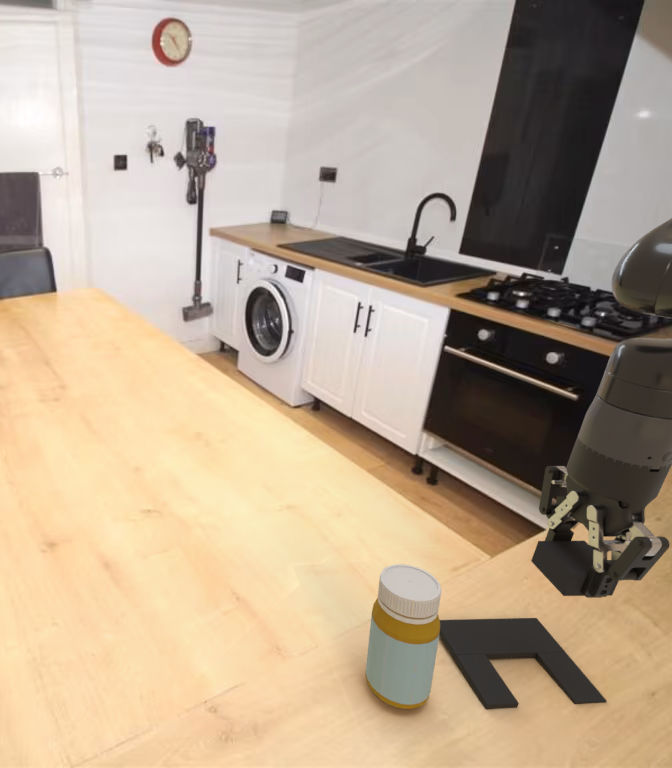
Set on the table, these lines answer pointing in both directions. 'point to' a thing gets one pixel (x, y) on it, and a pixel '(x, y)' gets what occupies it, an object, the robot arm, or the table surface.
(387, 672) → the bottle
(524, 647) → the u-shaped plate
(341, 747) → the table surface
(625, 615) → the table surface
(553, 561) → the dark rectangular block
